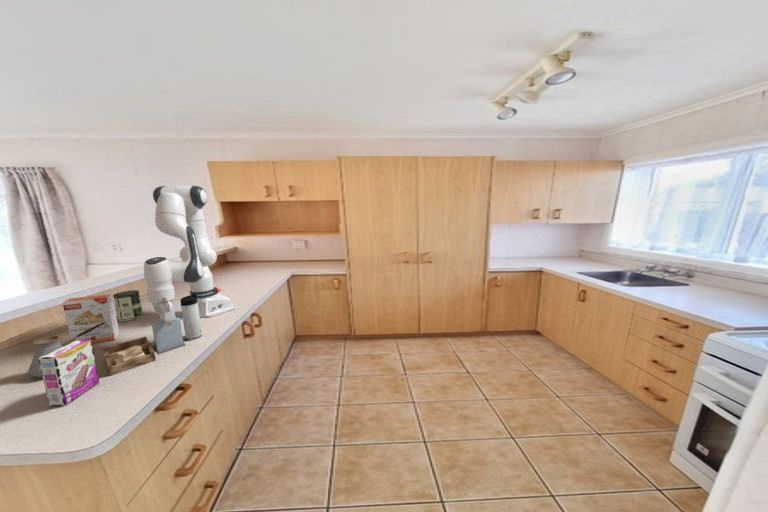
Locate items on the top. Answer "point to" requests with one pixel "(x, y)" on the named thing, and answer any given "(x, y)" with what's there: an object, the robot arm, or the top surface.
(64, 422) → the top surface
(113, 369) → the rack
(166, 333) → the board
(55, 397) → the candy bar box
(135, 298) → the coffee can
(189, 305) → the travel mug
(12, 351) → the top surface
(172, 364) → the top surface
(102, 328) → the cracker box
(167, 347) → the mat
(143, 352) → the block
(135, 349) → the upper offcut
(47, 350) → the coffee pot
